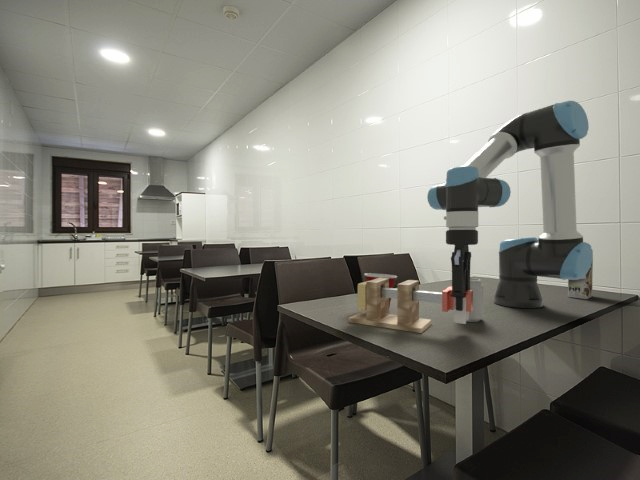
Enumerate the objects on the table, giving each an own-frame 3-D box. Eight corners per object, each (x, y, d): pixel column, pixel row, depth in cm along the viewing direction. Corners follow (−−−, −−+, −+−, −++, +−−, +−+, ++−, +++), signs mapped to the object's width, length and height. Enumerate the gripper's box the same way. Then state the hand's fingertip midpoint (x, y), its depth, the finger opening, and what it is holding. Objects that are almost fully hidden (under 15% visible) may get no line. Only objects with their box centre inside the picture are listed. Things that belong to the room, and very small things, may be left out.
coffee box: (588, 299, 128) (588, 256, 127) (567, 297, 133) (567, 255, 132) (593, 296, 134) (593, 255, 134) (572, 294, 139) (573, 254, 138)
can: (486, 323, 97) (486, 280, 96) (458, 321, 98) (458, 280, 98) (479, 316, 104) (479, 277, 104) (453, 315, 105) (453, 276, 105)
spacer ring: (375, 305, 104) (375, 281, 103) (365, 310, 97) (365, 284, 97) (368, 304, 105) (368, 280, 105) (357, 309, 99) (357, 284, 98)
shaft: (474, 307, 90) (474, 288, 89) (468, 314, 82) (469, 293, 82) (365, 295, 106) (365, 279, 106) (352, 300, 99) (352, 283, 98)
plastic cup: (404, 311, 112) (404, 274, 112) (378, 315, 106) (378, 276, 106) (382, 304, 121) (382, 271, 121) (357, 308, 116) (357, 273, 116)
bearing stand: (431, 324, 96) (431, 281, 96) (421, 333, 88) (421, 286, 87) (363, 314, 107) (363, 276, 107) (348, 321, 99) (348, 280, 99)
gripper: (452, 229, 95) (452, 312, 96) (438, 229, 82) (438, 326, 82) (482, 228, 91) (481, 316, 92) (472, 228, 78) (472, 331, 78)
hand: (461, 321), depth 87 cm, fingers closed on shaft, 3 cm apart
